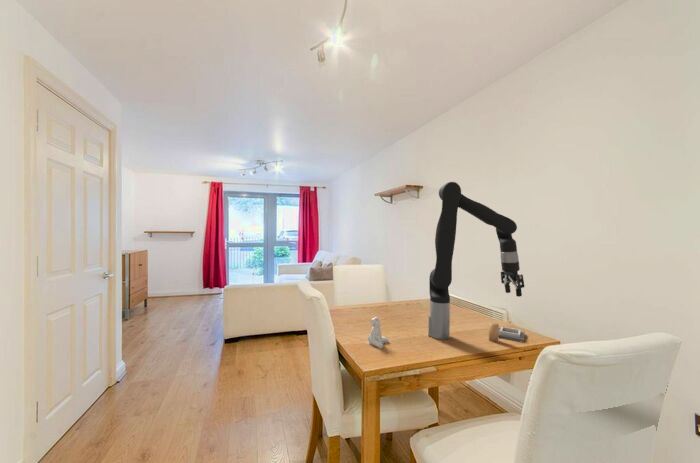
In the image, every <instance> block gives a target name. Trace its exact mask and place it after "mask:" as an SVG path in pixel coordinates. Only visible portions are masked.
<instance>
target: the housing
mask: <svg viewBox="0 0 700 463" xmlns="http://www.w3.org/2000/svg"><path fill="white" fill-rule="evenodd" d="M524 336H526V332H524V331H522V330H521V329H520V328H512V327H509V326H506V327H505V326H501V327H499V335H498V337H499V338H500V339H503V340H504V339H505V340H509V339H511V340H510V341H514V340H516V342H519V341H522V342H521V343H524V342H525V337H524ZM499 338H498V339H499Z"/></svg>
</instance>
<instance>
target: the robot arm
mask: <svg viewBox="0 0 700 463" xmlns="http://www.w3.org/2000/svg"><path fill="white" fill-rule="evenodd" d="M438 196H439V198H440V200H442V201H441V212H440V215H439V219H438V222H437V225H436V229H435V238H434V243H435V246H434V247H435V256H436V259H435V260H436V261H435V266H434V269H432V270H431V271H430V274H429V278H428V279H429V280H428V281H429V299H430V301H429V302H430V307H429V308H430V309H429V316H428V336H429V337H431V338H433V339H437V340H448V339H450V334H451V333H450V327H451V325H450V323H451V322H450V320H451V319H450V318H451V315H450V314H451V312H450V310H451V307H450V306H451V297H450V292H449V287H450V285H451V284H452V281H453V279H452V278H453V276H452V275H453V274H452V272H453V269H452V268H453V257H454V256H453V255H454V250H455V243H456V236H457V234H456V233H457V225H458V224H457V220H458V209H461V210H463V211H465V212H467V213H468V214H470V215H471V216H473V217H475V218H476V219H478V220H479V221H481V222H483V223H485V224H486V225H488V226H492V227H494V228H495V232H496V235H497V239H498V242H499V250H500V264H501V265H500V266H501V271H500V280H501V281H500V282H501V284H503V285H504V292H505V293H506V294H510V293H511V285H510V284H512V285H514V287H515V295H516V297H522V296H523V295H522V293H523V292H522V289H524V288H525V280H524V275H523V274H521V273H520V274H519V273H518V272H519V271H520V262H519V261H520V260H519V253H518V248H517V241H516V240H515V238H513V234H515V233H516V232H517V229H518V226H517V223H516V222H515V221H514V220H513V219H511V218H509V217H508V216H505V215H503V214H501V213H498V212H497V211H495V210H493V209H492V208H490V207H489V206H486V205H485V204H482V203H481V202H478V201H476V200H473V199H470V198H469V197H467V196H466V195H464V194H463V193H462V188H461V186H460V185H459V183H457V182H455V181H449V182H447V183H445V184H443V185H442V186H441V187H440V188H439V190H438Z"/></svg>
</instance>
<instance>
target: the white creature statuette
mask: <svg viewBox="0 0 700 463" xmlns="http://www.w3.org/2000/svg"><path fill="white" fill-rule="evenodd" d="M370 324H371V326H372V328H371V331H370V333H369V335H368V337H367V340H368V342H369V344H370V345H372V346H374V347H376V348H377V349H383V348H384V344H389V338H388V337H386V336H383V335H382V329H381V321H380V319H379V317H377V316H375V317H373V318H372V319H371V320H370Z"/></svg>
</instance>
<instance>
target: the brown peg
mask: <svg viewBox="0 0 700 463" xmlns="http://www.w3.org/2000/svg"><path fill="white" fill-rule="evenodd" d="M499 325H500V324H498V323H496V322H489V323H488V340H489V342H491V343H499V338H498V335H499V328H500V327H499Z"/></svg>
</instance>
